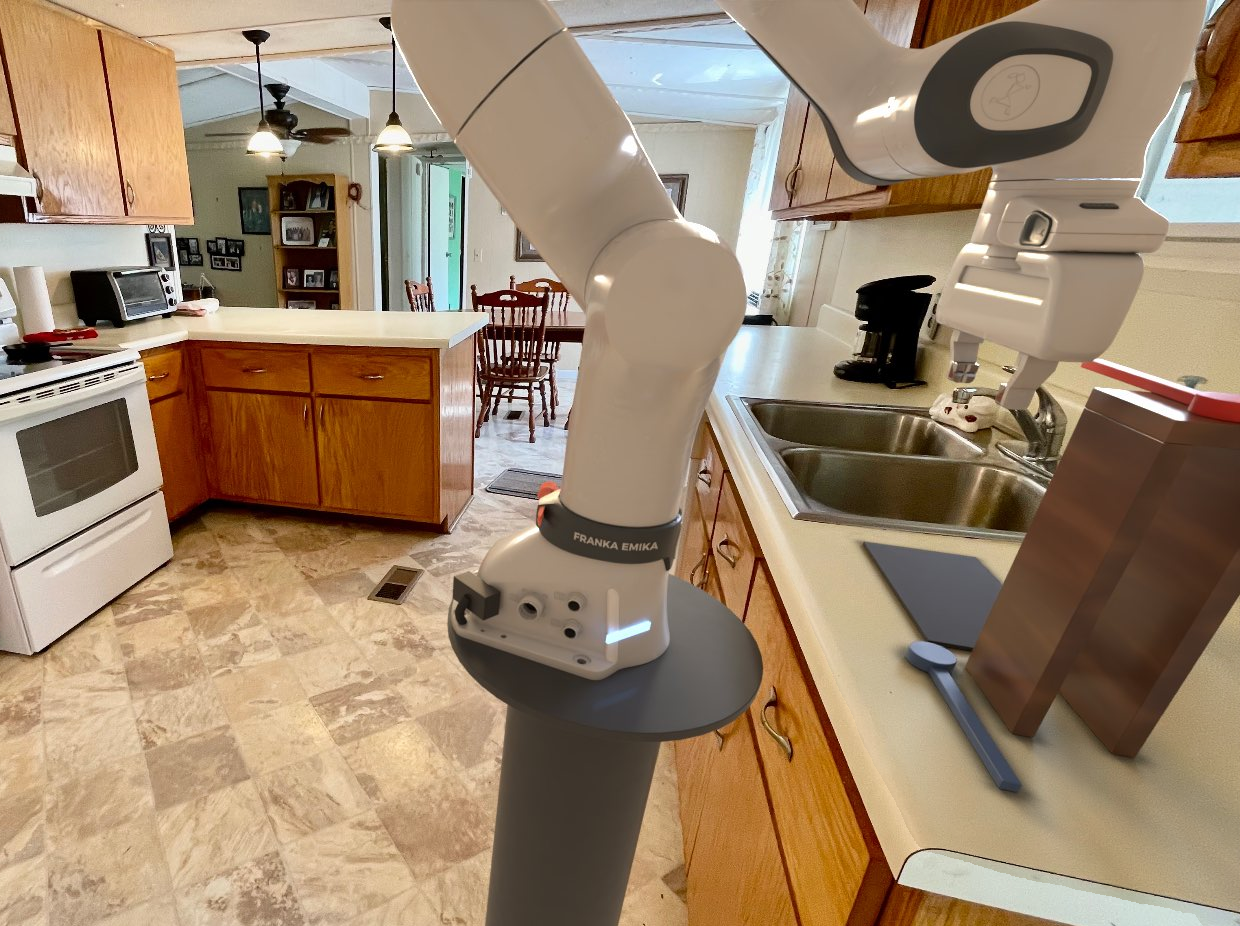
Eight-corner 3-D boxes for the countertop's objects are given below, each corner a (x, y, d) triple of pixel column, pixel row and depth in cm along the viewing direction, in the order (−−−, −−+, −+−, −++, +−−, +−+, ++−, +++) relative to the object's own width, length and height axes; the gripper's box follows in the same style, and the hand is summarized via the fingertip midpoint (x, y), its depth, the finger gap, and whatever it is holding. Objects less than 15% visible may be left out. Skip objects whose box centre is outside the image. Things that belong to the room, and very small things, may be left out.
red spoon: (1062, 365, 57) (1068, 351, 56) (1114, 369, 56) (1120, 355, 55) (1212, 420, 42) (1222, 402, 41) (1286, 427, 41) (1297, 408, 40)
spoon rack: (1011, 733, 53) (1176, 420, 42) (964, 666, 60) (1093, 387, 49) (1135, 758, 50) (1343, 434, 39) (1070, 685, 58) (1228, 398, 47)
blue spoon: (1038, 797, 47) (1045, 785, 46) (978, 784, 48) (985, 772, 47) (943, 655, 62) (948, 645, 61) (899, 647, 63) (903, 637, 62)
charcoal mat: (927, 643, 64) (928, 640, 63) (862, 544, 83) (863, 541, 82) (1078, 669, 60) (1080, 666, 60) (974, 559, 79) (976, 556, 79)
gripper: (944, 220, 62) (898, 366, 68) (1074, 224, 44) (997, 422, 50) (1023, 221, 61) (969, 371, 66) (1191, 225, 43) (1097, 430, 49)
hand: (982, 393), depth 58 cm, fingers open, 8 cm apart
